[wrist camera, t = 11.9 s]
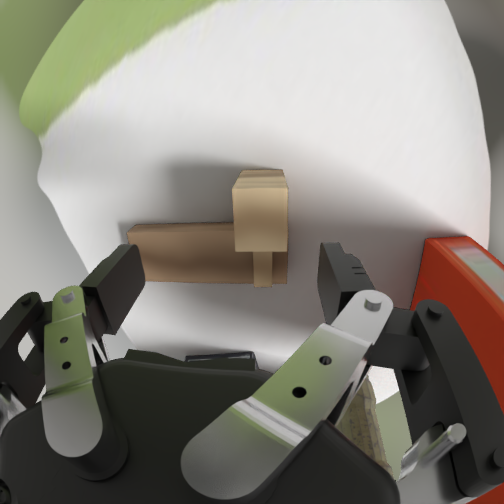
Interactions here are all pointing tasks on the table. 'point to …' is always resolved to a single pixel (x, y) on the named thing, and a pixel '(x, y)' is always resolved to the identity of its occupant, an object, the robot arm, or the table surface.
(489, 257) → the file binder
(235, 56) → the table surface
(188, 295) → the table surface
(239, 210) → the wooden brick
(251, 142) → the table surface
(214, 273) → the brown block
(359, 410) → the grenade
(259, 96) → the table surface
